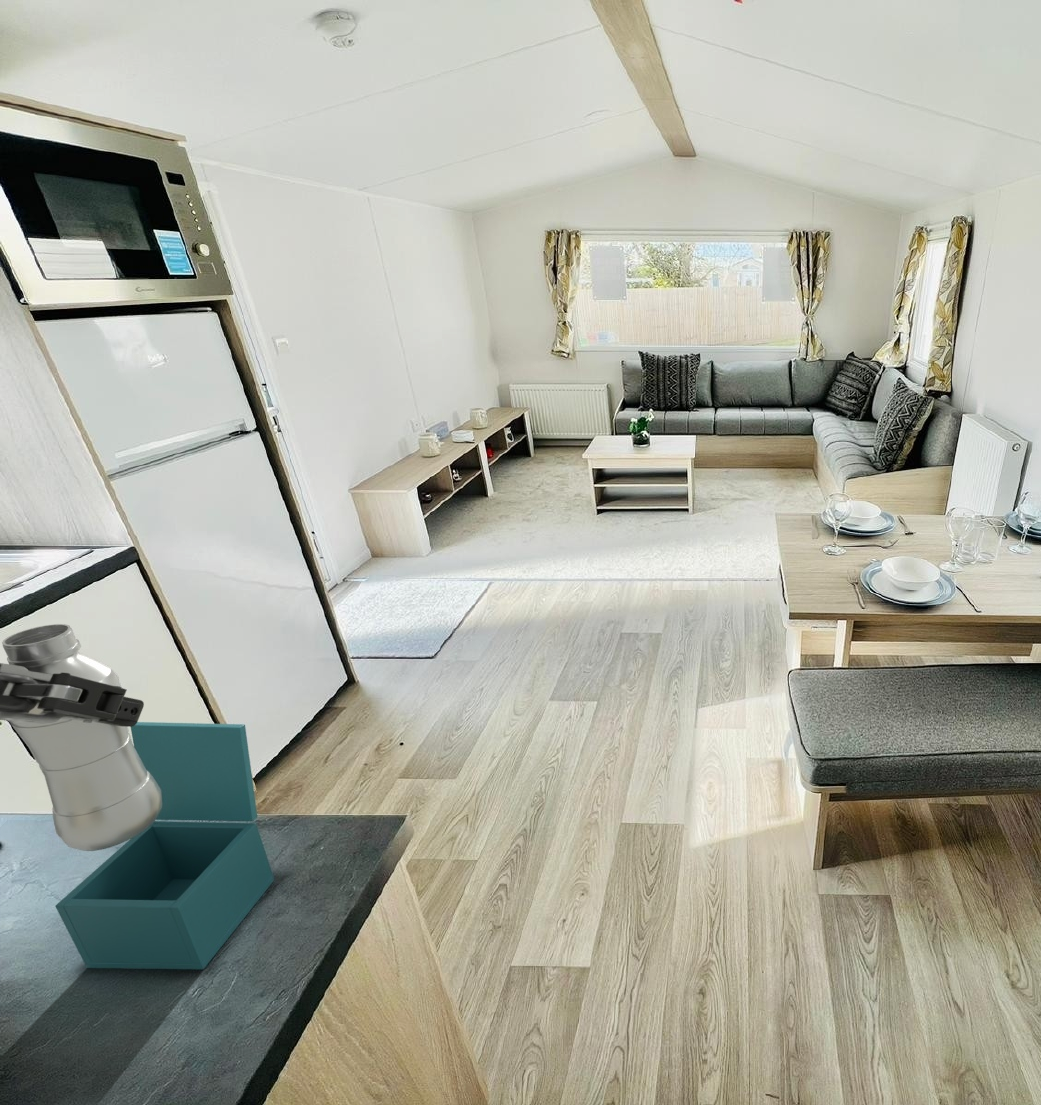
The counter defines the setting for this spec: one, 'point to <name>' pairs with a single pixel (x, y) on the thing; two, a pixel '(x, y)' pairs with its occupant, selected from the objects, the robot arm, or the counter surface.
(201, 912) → the cool box
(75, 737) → the silver metal bottle
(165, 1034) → the counter surface
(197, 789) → the cool box lid
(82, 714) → the robot arm
